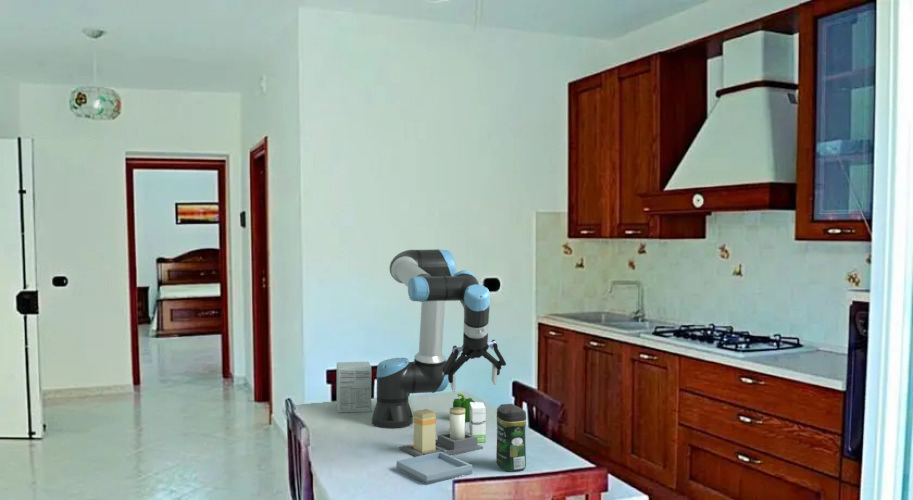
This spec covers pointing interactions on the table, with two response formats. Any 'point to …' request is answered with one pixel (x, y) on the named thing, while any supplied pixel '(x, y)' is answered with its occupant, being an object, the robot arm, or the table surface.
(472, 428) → the ink box
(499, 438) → the coffee jar
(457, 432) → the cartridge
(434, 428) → the beige tall box
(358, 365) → the supplement box
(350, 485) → the table surface
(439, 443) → the holder block
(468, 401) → the bell pepper
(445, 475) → the tray
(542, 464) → the table surface
